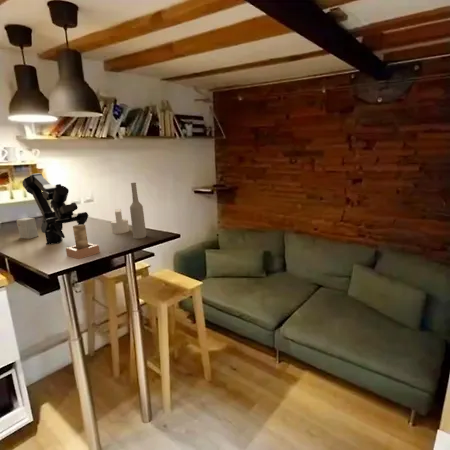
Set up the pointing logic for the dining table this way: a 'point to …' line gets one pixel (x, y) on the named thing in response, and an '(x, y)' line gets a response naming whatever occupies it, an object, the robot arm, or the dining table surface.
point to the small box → (27, 228)
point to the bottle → (137, 215)
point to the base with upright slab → (119, 223)
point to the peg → (80, 236)
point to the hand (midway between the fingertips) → (74, 235)
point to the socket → (82, 251)
